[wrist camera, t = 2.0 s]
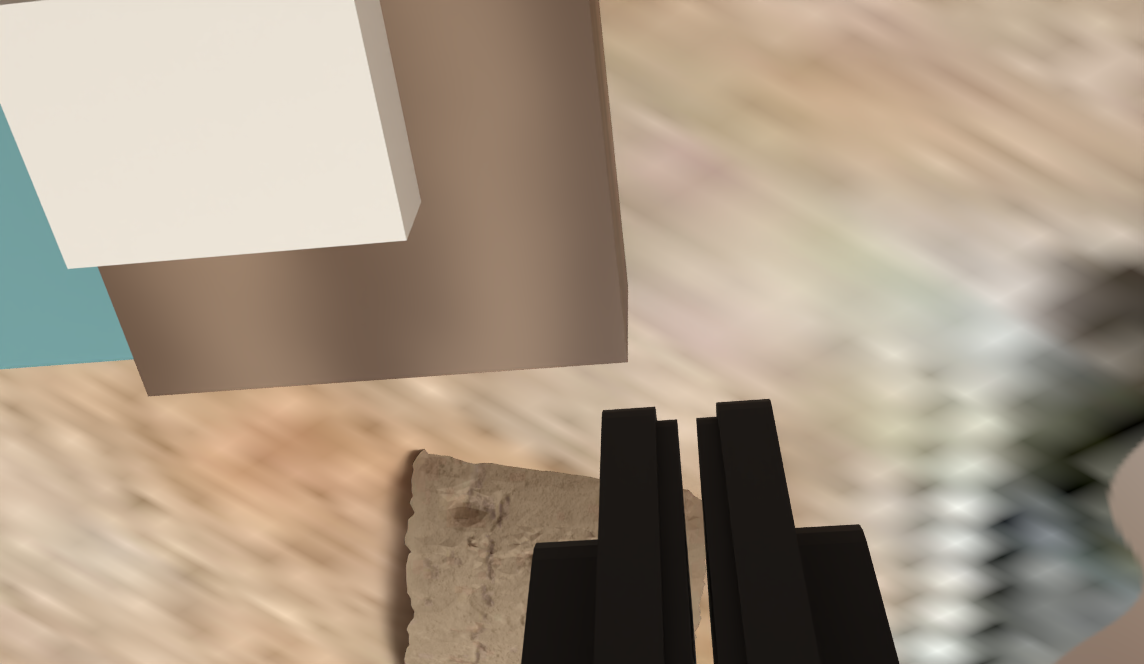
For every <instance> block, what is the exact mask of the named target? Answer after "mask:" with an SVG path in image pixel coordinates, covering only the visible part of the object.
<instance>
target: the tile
mask: <svg viewBox="0 0 1144 664" xmlns="http://www.w3.org/2000/svg"><path fill="white" fill-rule="evenodd" d="M0 104H1V107H2V109H3V112H4V114H5V116H6V119H7V121H8V124H9V126H10V129H11V131H12V134H13V136H14V138H15V141H16V143H17V146H18V148H19V151H20V153H21V156H22V158H23V161H24V163H25V165H26V168H27V170H28V173H29V175H30V178H31V180H32V183H33V185H34V188H35V190H36V192H37V195H38V197H39V200H40V202H41V205H42V207H43V210H44V212H45V214H46V217H47V219H48V222H49V224H50V227H51V229H52V232H53V234H54V237H55V239H56V241H57V244H58V246H59V249H60V251H61V254H62V256H63V259H64V261H65V263H66V266H67V268H68V269H73V268H85V267H97V266H109V265H121V264H133V263H145V262H156V261H168V260H180V259H192V258H204V257H216V256H228V255H240V254H252V253H264V252H276V251H287V250H299V249H311V248H323V247H335V246H347V245H359V244H371V243H383V242H395V241H407V238H408V236H409V233H410V230H411V228H412V225H413V222H414V220H415V217H416V214H417V212H418V209H419V206H420V204H421V199H420V194H419V189H418V184H417V179H416V175H415V170H414V165H413V160H412V155H411V150H410V146H409V141H408V136H407V131H406V126H405V121H404V117H403V112H402V107H401V102H400V97H399V92H398V88H397V83H396V78H395V73H394V68H393V63H392V59H391V54H390V49H389V44H388V39H387V34H386V30H385V25H384V20H383V15H382V10H381V5H380V1H379V0H0Z"/></svg>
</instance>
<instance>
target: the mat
mask: <svg viewBox="0 0 1144 664" xmlns="http://www.w3.org/2000/svg"><path fill="white" fill-rule="evenodd" d="M130 359H134V358H133V356H132V353H131V351H130V348H129V346H128V343H127V341H126V338H125V335H124V333H123V330H122V328H121V325H120V323H119V320H118V318H117V315H116V312H115V310H114V307H113V305H112V302H111V300H110V297H109V295H108V292H107V289H106V287H105V284H104V282H103V279H102V277H101V274H100V272H99V269H98V266H97V267H85V268H73V269H68V268H67V266H66V263H65V261H64V259H63V256H62V254H61V251H60V249H59V246H58V244H57V241H56V239H55V237H54V234H53V232H52V229H51V227H50V224H49V222H48V219H47V217H46V214H45V212H44V210H43V207H42V205H41V202H40V200H39V197H38V195H37V192H36V190H35V188H34V185H33V183H32V180H31V178H30V175H29V173H28V170H27V168H26V165H25V163H24V161H23V158H22V156H21V153H20V151H19V148H18V146H17V143H16V141H15V138H14V136H13V134H12V131H11V129H10V126H9V124H8V121H7V119H6V116H5V114H4V112H3V109H2V107H1V104H0V369H10V368H23V367H37V366H50V365H63V364H77V363H90V362H104V361H117V360H130Z"/></svg>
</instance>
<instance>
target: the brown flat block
mask: <svg viewBox="0 0 1144 664" xmlns="http://www.w3.org/2000/svg"><path fill="white" fill-rule="evenodd" d="M379 1H380V5H381V10H382V15H383V20H384V25H385V30H386V34H387V39H388V44H389V49H390V54H391V59H392V63H393V68H394V73H395V78H396V83H397V88H398V92H399V97H400V102H401V107H402V112H403V117H404V121H405V126H406V131H407V136H408V141H409V146H410V150H411V155H412V160H413V165H414V170H415V175H416V179H417V184H418V189H419V194H420V199H421V204H420V206H419V209H418V212H417V214H416V217H415V220H414V222H413V225H412V228H411V230H410V233H409V236H408V238H407V241H395V242H383V243H371V244H359V245H347V246H335V247H323V248H311V249H299V250H287V251H276V252H264V253H252V254H240V255H228V256H216V257H204V258H192V259H180V260H168V261H156V262H145V263H133V264H121V265H109V266H98V269H99V272H100V274H101V277H102V279H103V282H104V284H105V287H106V289H107V292H108V295H109V297H110V300H111V302H112V305H113V307H114V310H115V312H116V315H117V318H118V320H119V323H120V325H121V328H122V330H123V333H124V335H125V338H126V341H127V343H128V346H129V348H130V351H131V353H132V356H133V358H134V361H135V364H136V366H137V369H138V371H139V374H140V376H141V379H142V381H143V384H144V387H145V389H146V392H147V394H148V396H159V395H173V394H187V393H201V392H215V391H229V390H243V389H257V388H271V387H285V386H299V385H313V384H327V383H341V382H356V381H370V380H384V379H398V378H412V377H426V376H440V375H454V374H468V373H482V372H496V371H510V370H524V369H538V368H552V367H566V366H580V365H594V364H608V363H622V362H628V282H627V272H626V262H625V252H624V243H623V233H622V223H621V213H620V204H619V194H618V184H617V174H616V164H615V155H614V145H613V135H612V125H611V115H610V106H609V96H608V86H607V76H606V66H605V57H604V47H603V37H602V27H601V17H600V8H599V0H379Z"/></svg>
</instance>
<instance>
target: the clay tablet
mask: <svg viewBox="0 0 1144 664" xmlns="http://www.w3.org/2000/svg"><path fill="white" fill-rule="evenodd" d="M411 483H412V494H413V497H412V499H411V500H410V504H411V506H412V508H413V510H414V515H413V516H412V517H411V518H409V519H408V530H407V533H406V535H405V545H406V546H407V547H408V548H409V550H410V551H411V553H409V555H408V560H407V564H406V583H407V593H408V595H409V596H410V598H411V606H412V608H413V610H414V618H413V619H412V621H411V622H410V623H409V625H408V628H407V631H408V634H409V646H408V648H407V649H406V653H405V658H404V661H405V664H521V659H522V649H523V640H524V630H525V621H526V611H527V601H528V592H529V582H530V573H531V563H532V556H533V550H534V547H535V544H536V543H542V542H559V541H577V540H594V539H598V519H599V489H600V479H596V478H592V477H587V476H580V475H571V474H565V473H559V472H551V471H539V470H532V469H525V468H518V467H511V466H503V465H498V464H493V463H480V464H472V463H467V462H464V461H461V460H458V459H455V458H453V457H450V456H441V455H434V454H428V453H427V451H426V450H425V449H424V450H423V451H422V452H420V454H419V455H418V456H417V458H416V459H415V461H414V463H413V474H412V478H411ZM683 498H684V511H685V523H686V535H687V548H688V560H689V572H690V585H691V597H692V610H693V623H694V637H695V640H696V635H695V631H696V629H697V628H698V626H699V623H700V620H701V616H700V613H701V612H700V606H699V604H700V600H701V596H702V593H703V589H704V585H705V583H704V575H705V573H706V565H705V559H706V552H705V546H704V545H705V537H704V523H703V509H702V500H700V499H698V498H697V497H695V496H694V495H693V494H692V493H691V492H690V491H689V490H685V489H683Z"/></svg>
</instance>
